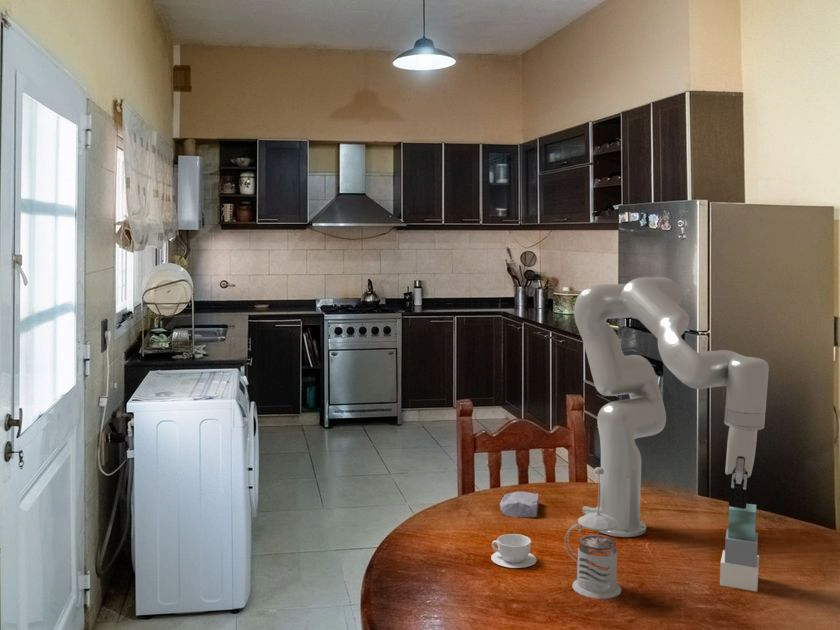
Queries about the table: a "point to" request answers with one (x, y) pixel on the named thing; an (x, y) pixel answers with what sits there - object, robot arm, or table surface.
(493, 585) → the table surface
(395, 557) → the table surface
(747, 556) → the tower top
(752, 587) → the block
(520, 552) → the teacup
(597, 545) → the french press
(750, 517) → the teal pillar
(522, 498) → the stone block
